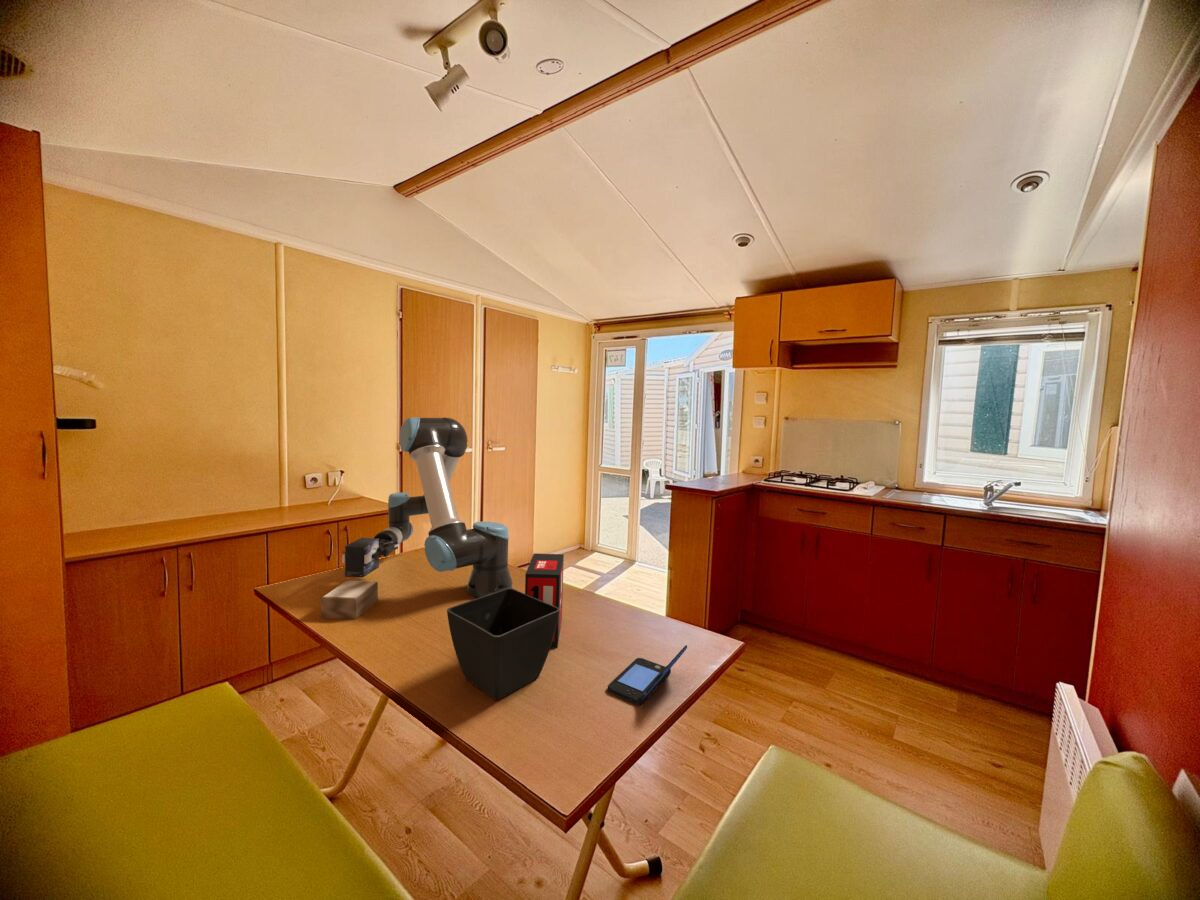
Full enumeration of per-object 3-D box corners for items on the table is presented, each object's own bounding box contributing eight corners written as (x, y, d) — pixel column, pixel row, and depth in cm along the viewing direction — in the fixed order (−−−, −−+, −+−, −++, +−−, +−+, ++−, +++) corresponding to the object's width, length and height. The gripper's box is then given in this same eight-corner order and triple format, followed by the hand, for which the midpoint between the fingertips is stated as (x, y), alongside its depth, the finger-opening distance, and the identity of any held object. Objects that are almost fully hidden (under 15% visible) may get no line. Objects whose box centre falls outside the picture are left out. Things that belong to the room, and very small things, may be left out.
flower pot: (508, 647, 120) (509, 585, 119) (560, 675, 108) (562, 607, 107) (444, 678, 106) (444, 608, 104) (495, 715, 94) (496, 637, 92)
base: (377, 600, 145) (377, 581, 145) (356, 619, 132) (355, 598, 132) (346, 599, 145) (346, 579, 145) (321, 617, 132) (321, 597, 132)
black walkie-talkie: (637, 661, 116) (639, 626, 115) (687, 680, 109) (689, 643, 108) (604, 692, 103) (606, 653, 102) (658, 716, 96) (660, 674, 95)
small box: (364, 578, 148) (363, 546, 147) (344, 577, 148) (343, 546, 147) (380, 567, 158) (379, 537, 157) (361, 566, 159) (361, 537, 158)
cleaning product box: (532, 618, 137) (533, 553, 135) (561, 618, 137) (563, 554, 135) (523, 647, 121) (525, 573, 119) (557, 647, 121) (559, 574, 119)
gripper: (413, 550, 171) (384, 571, 148) (361, 548, 171) (324, 570, 148) (413, 530, 170) (384, 548, 147) (361, 529, 170) (324, 547, 147)
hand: (354, 559), depth 148 cm, fingers closed on small box, 6 cm apart
